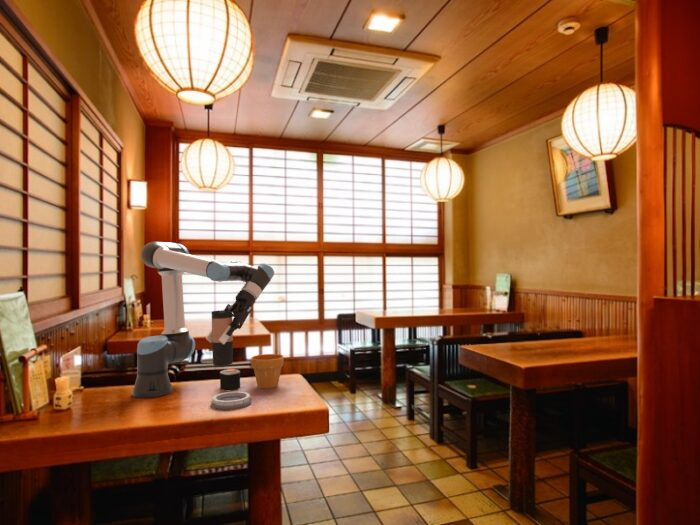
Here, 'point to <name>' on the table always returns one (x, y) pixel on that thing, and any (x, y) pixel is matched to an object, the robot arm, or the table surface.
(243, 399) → the gray ring
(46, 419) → the table surface
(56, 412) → the table surface
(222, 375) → the sushi
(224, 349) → the travel mug
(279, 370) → the flower pot
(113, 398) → the table surface
